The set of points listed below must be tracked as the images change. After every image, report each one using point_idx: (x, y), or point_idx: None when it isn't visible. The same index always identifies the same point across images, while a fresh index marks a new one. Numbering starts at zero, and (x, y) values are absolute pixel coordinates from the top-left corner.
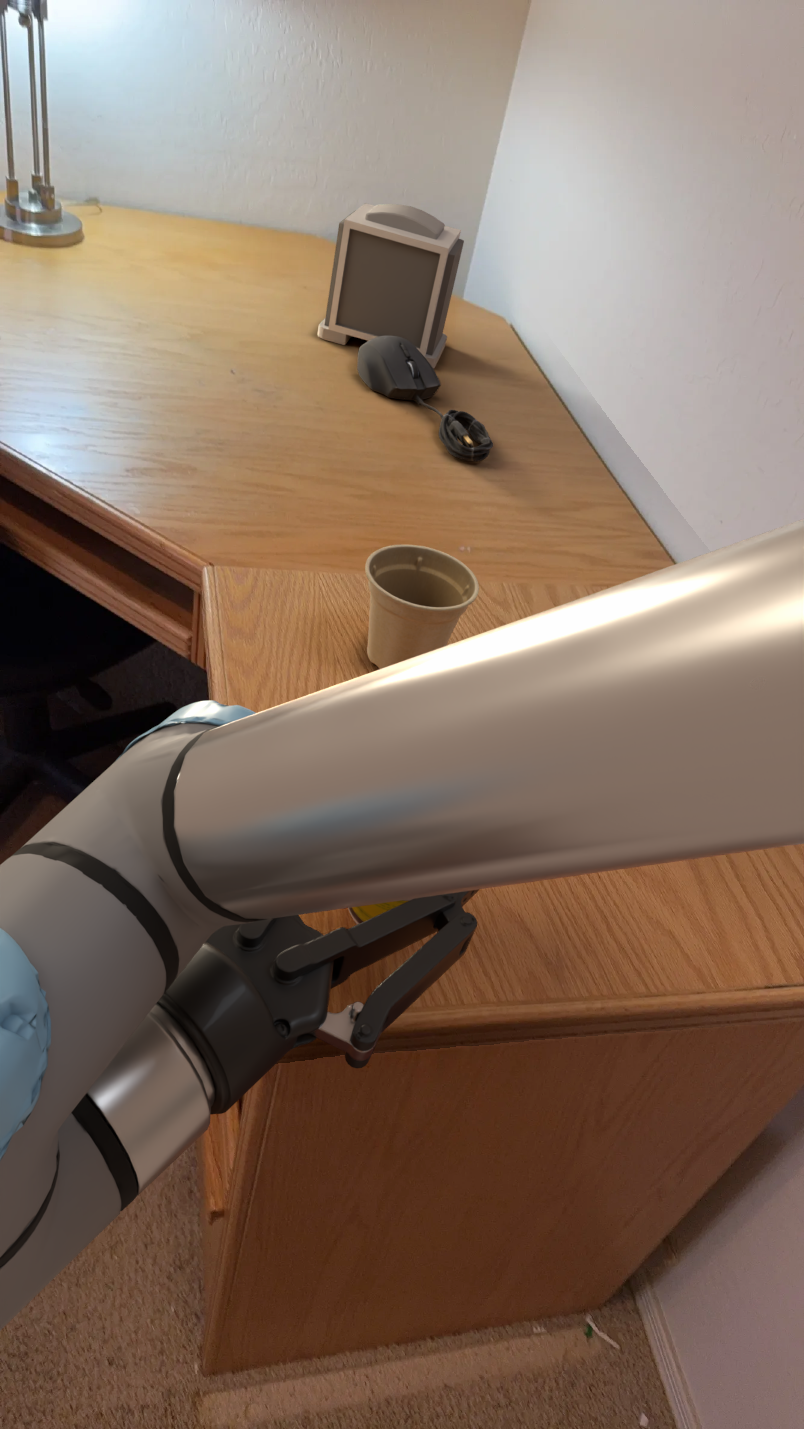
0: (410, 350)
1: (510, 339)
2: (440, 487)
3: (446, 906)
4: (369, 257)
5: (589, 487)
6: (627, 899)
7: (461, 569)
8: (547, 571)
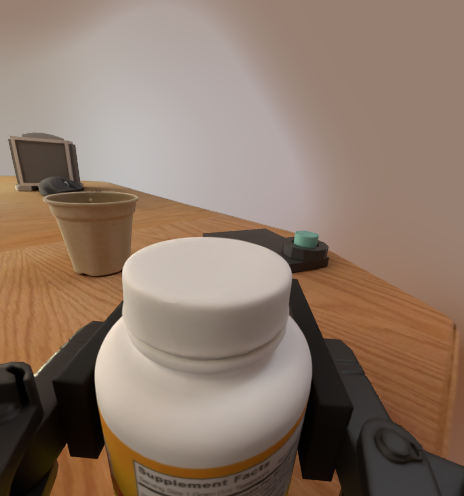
0: (64, 178)
1: (110, 184)
2: None
3: (438, 489)
4: (30, 150)
5: (164, 202)
6: (346, 324)
7: (121, 195)
8: (166, 221)
